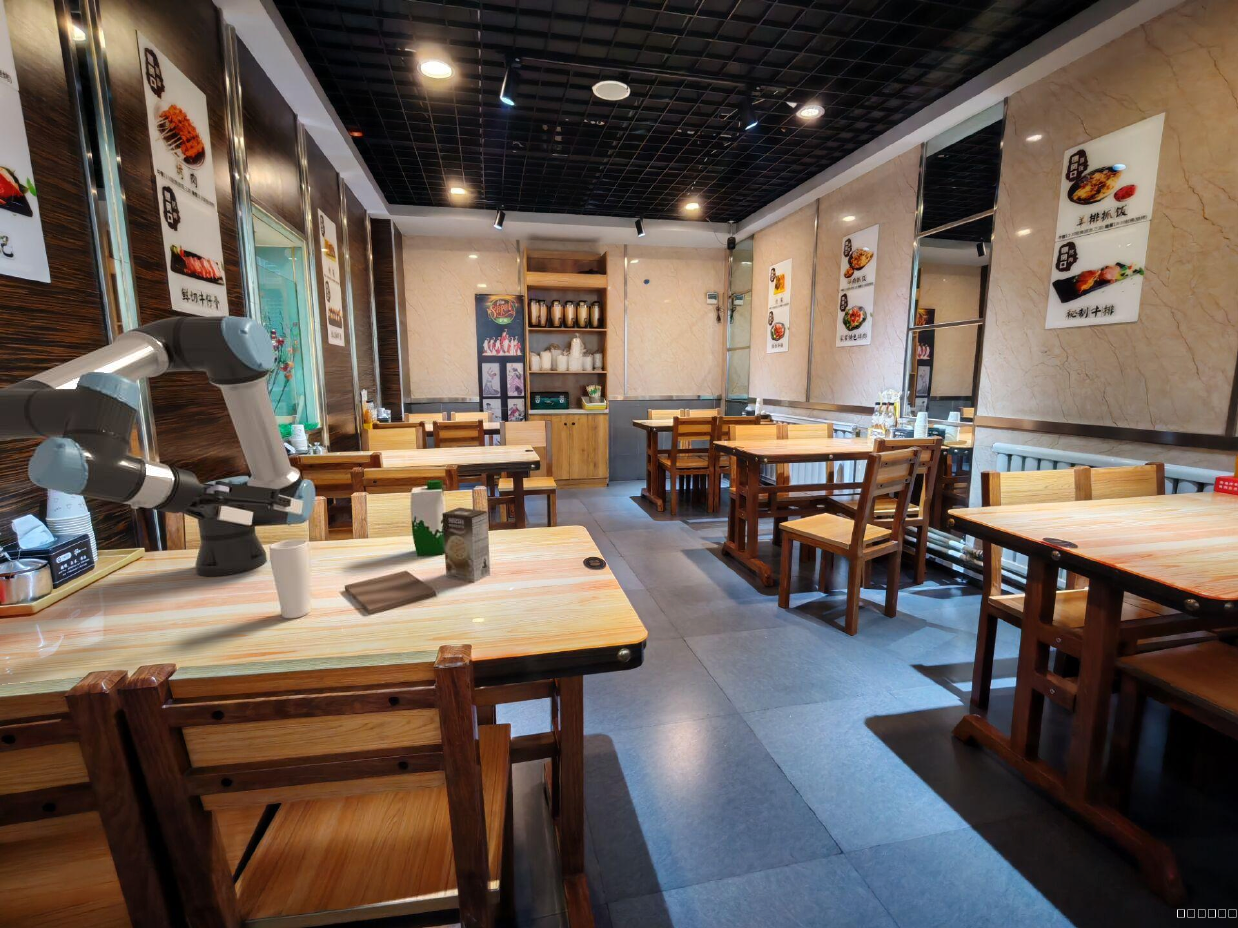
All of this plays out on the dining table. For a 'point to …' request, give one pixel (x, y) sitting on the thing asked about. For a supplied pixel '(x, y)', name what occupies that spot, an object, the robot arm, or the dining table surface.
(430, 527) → the milk carton
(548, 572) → the dining table surface
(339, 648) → the dining table surface
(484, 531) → the coffee box
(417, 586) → the serving board
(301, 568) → the drinking glass
